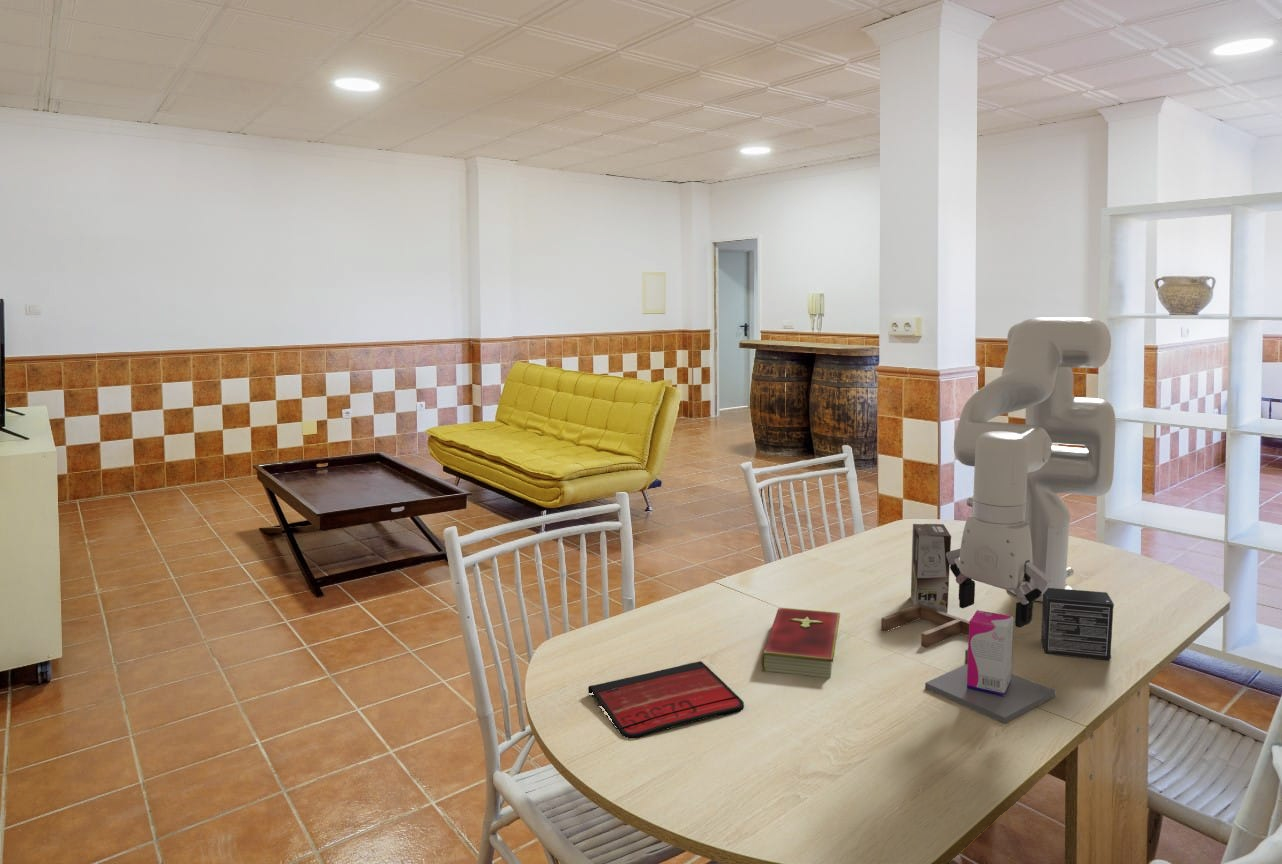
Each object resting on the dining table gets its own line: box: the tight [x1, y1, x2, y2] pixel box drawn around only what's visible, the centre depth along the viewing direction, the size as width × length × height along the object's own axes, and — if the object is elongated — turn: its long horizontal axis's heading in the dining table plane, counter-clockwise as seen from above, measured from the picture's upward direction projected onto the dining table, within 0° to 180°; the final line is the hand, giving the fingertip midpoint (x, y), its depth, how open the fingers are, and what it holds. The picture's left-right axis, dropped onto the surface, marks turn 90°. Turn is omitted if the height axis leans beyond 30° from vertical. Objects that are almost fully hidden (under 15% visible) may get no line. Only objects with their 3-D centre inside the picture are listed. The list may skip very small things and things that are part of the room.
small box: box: [1040, 588, 1115, 661], centre depth 147 cm, size 11×6×10 cm, turn 71°
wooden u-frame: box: [880, 604, 970, 665], centre depth 153 cm, size 12×19×2 cm, turn 35°
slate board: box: [924, 663, 1057, 725], centre depth 133 cm, size 14×14×1 cm
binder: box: [587, 660, 745, 739], centre depth 132 cm, size 16×2×21 cm
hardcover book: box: [760, 606, 841, 679], centre depth 150 cm, size 12×21×4 cm, turn 163°
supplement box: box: [967, 609, 1014, 696], centre depth 132 cm, size 6×6×12 cm
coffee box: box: [910, 523, 952, 614], centre depth 169 cm, size 9×6×16 cm
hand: (993, 615), depth 131 cm, fingers open, 9 cm apart
